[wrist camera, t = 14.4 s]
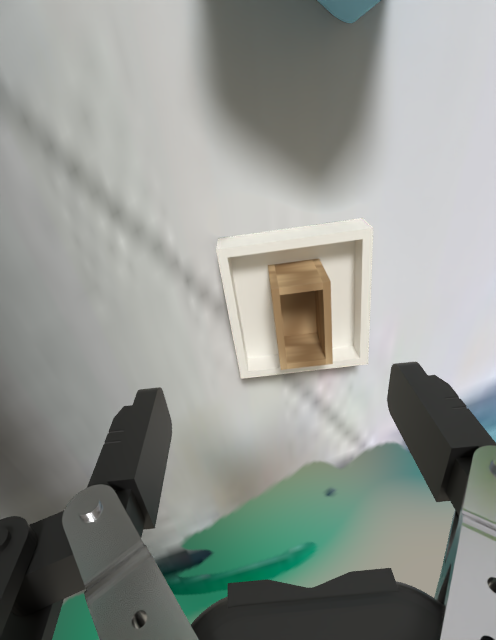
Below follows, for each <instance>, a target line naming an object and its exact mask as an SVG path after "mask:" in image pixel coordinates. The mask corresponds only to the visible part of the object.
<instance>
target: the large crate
mask: <svg viewBox="0 0 496 640" xmlns="http://www.w3.org/2000/svg"><path fill="white" fill-rule="evenodd" d="M372 247H373V227H372V226H371V225H370V224H368V223H367V222H366V221H365V220H364V219H363V218H359V219H352V220H345V221H338V222H331V223H323V224H316V225H309V226H302V227H295V228H288V229H281V230H274V231H267V232H259V233H252V234H245V235H238V236H231V237H224V238H218V243H217V247H216V252H217V257H218V262H219V268H220V273H221V278H222V283H223V288H224V293H225V299H226V304H227V309H228V314H229V319H230V324H231V330H232V335H233V340H234V345H235V350H236V355H237V360H238V366H239V371H240V376H241V379H243V378H252V377H260V376H269V375H278V374H287V373H295V372H304V371H313V370H322V369H330V368H339V367H348V366H357V365H365V364H368V353H369V326H370V300H371V274H372ZM318 258H319V259H320V261H321V263H322V265H323V267H324V269H325V271H326V273H327V275H328V277H329V279H330V281H331V312H332V353H333V364H328V365H320V366H311V367H302V368H294V369H285V370H281V368H280V361H279V353H278V346H277V339H276V331H275V322H274V314H273V306H272V297H271V289H270V281H269V272H268V265H273V264H281V263H288V262H296V261H303V260H310V259H318Z"/></svg>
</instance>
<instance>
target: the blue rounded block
mask: <svg viewBox="0 0 496 640" xmlns="http://www.w3.org/2000/svg"><path fill="white" fill-rule="evenodd" d="M317 1H318V2H319V3H320V4H322V5H323V6H324V7H325V8H326V9H327V10H328V11H329V12H330V13H331V14H332V15H334V16H335V17H336V18H338V19H340V20H341V21H343V22H346V23H353V22H355V21H356V20H358V19H359V18H360V17H361V16H362V15H364V14H365V13H366V12H367V11H369V10H370V9H371V8H372V7H374V6H375V5H376V4H377V3H378V2H380V1H381V0H317Z"/></svg>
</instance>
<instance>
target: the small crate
mask: <svg viewBox="0 0 496 640" xmlns="http://www.w3.org/2000/svg"><path fill="white" fill-rule="evenodd" d="M268 272H269V281H270V289H271V297H272V306H273V314H274V322H275V331H276V339H277V346H278V353H279V361H280V368H281V370H285V369H294V368H302V367H311V366H320V365H328V364H333V353H332V312H331V281H330V279H329V277H328V275H327V273H326V271H325V269H324V267H323V265H322V263H321V261H320V259H319V258H318V259H310V260H303V261H296V262H288V263H281V264H273V265H268Z"/></svg>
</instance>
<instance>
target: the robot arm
mask: <svg viewBox="0 0 496 640" xmlns="http://www.w3.org/2000/svg"><path fill="white" fill-rule="evenodd" d="M387 402H388V408H389V411H390V414H391V416H392V418H393V420H394V422H395V424H396V426H397V428H398V430H399V432H400V433H401V435H402V437H403V439H404V441H405V443H406V445H407V447H408V449H409V451H410V453H411V454H412V456H413V458H414V460H415V462H416V464H417V466H418V468H419V470H420V472H421V474H422V475H423V477H424V479H425V481H426V483H427V485H428V487H429V489H430V491H431V493H432V494H433V496H434V498H435V500H436V502H442V501H451V503H452V504H453V507H454V508H455V512H454V515H453V519H452V524H451V528H450V533H449V538H448V542H447V547H446V552H445V556H444V561H443V566H442V570H441V574H440V578H439V582H438V585H437V589H436V593H435V597H434V598H433V597H431V596H430V595H428V594H426V593H425V592H423V591H421V590H419V589H417V588H415V587H412V586H410V585H407V584H404V583H401V582H396V581H395V579H394V576H393V573H392V570H391V568H385V569H375V570H364V571H353V572H349V573H347V574H344V575H342V576H340V577H337V578H335V579H332V580H330V581H328V582H326V583H323V584H321V585H318V586H316V587H313V588H306V587H301V586H296V585H291V584H286V583H282V582H277V581H272V580H258V581H248V582H237V583H228V597H226V598H224V599H221V600H219V601H218V602H216V603H214V604H213V605H211V606H210V607H209V608H207V609H206V610H205V611H204V612H203V613H201V614H200V615H199V617H197V618H196V619H195V620H194V622H193V623H192V624H191V625H190V623H189V621H188V620H187V618H186V616H185V614H184V612H183V611H182V609H181V607H180V605H179V604H178V602H177V600H176V598H175V596H174V594H173V593H172V591H171V589H170V587H169V586H168V584H167V582H166V580H165V578H164V577H163V575H162V573H161V571H160V569H159V568H158V566H157V564H156V562H155V560H154V559H153V557H152V555H151V553H150V552H149V550H148V548H147V546H146V545H144V543H143V541H142V539H141V537H142V532H143V529H152V528H155V524H156V519H157V513H158V508H159V502H160V497H161V491H162V486H163V481H164V475H165V470H166V464H167V459H168V453H169V448H170V442H171V437H172V423H171V418H170V414H169V411H168V407H167V404H166V400H165V397H164V394H163V391H162V389H161V388H150V389H141V390H138V392H137V394H136V397H135V400H134V403H133V405H132V406H124V407H123V408H122V409H121V410H120V412H119V413H118V414H117V415H116V416H115V417H114V419H113V421H112V424H111V427H110V429H109V434H108V435H107V437H106V440H105V444H104V445H103V448H102V450H101V453H100V455H99V458H98V461H97V463H96V466H95V469H94V471H93V474H92V476H91V479H90V482H89V484H88V486H87V488H85V489H84V490H82V491H80V492H79V493H78V494H76V495H75V496H74V497H73V498H72V499H71V500H70V502H69V503H68V504H67V506H66V508H65V510H64V511H62V512H60V513H58V514H55V515H53V516H50V517H48V518H45V519H43V520H40V521H38V522H35V523H33V524H30V525H29V524H28V523H27V521H26V520H25V519H23V518H21V517H17V516H13V517H7V518H4V519H2V520H0V640H52V637H53V634H54V631H55V627H56V624H57V620H58V617H59V613H60V610H61V607H62V603H63V600H64V598H66V597H69V596H71V595H73V594H75V593H77V592H79V591H82V590H84V589H86V591H85V592H84V594H85V599H86V602H87V605H88V608H89V610H90V614H91V616H92V619H93V622H94V625H95V627H96V630H97V633H98V636H99V639H100V640H496V443H495V441H494V440H493V439H492V438H491V436H490V435H489V434H488V433H487V431H486V430H485V429H484V428H483V426H482V425H481V424H480V423H479V421H478V420H477V419H476V418H475V416H474V415H473V414H472V413H471V411H470V410H469V409H467V408H466V405H465V404H464V402H463V401H462V400H461V399H459V396H458V395H457V394H456V392H455V391H454V390H453V389H452V387H451V386H450V385H449V384H448V383H446V382H445V381H443V380H442V379H440V378H439V377H437V376H436V375H430V376H428V375H427V374H426V373H425V371H424V370H423V368H422V367H421V366H420V364H419V363H417V362H408V363H398V364H393V365H392V367H391V374H390V381H389V389H388V396H387Z"/></svg>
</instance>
